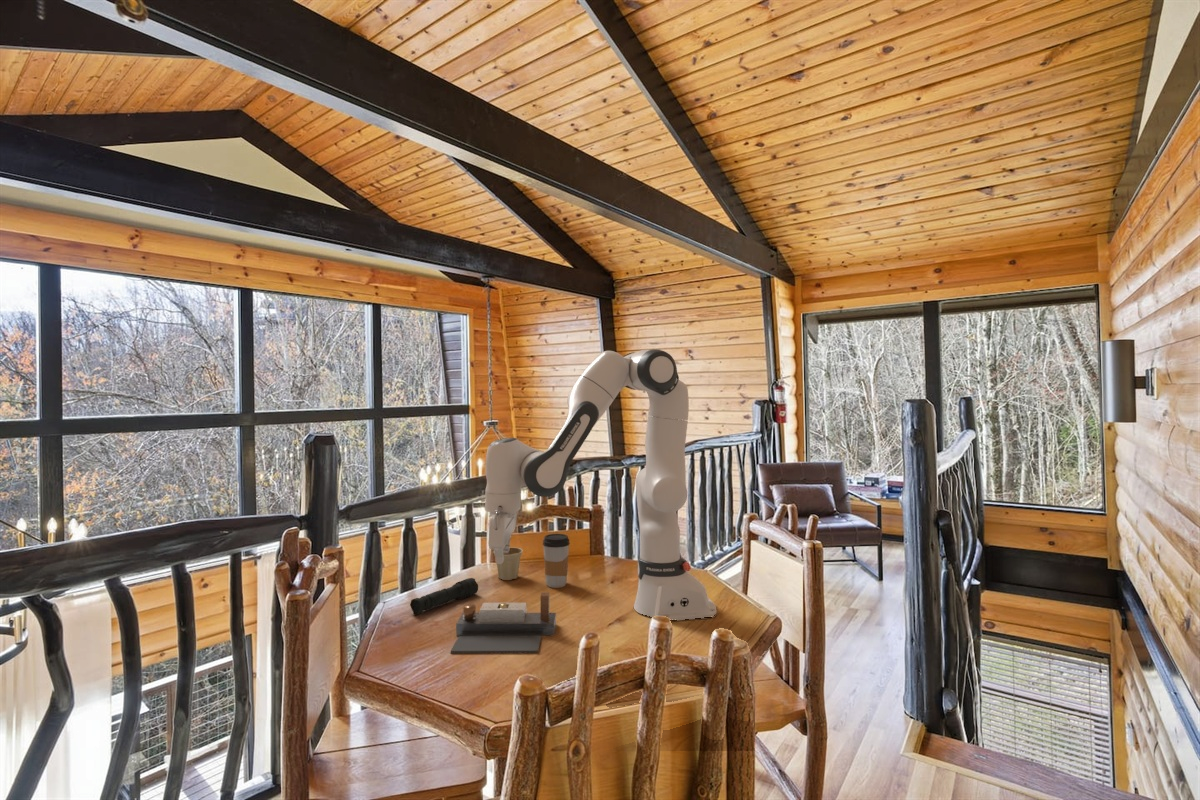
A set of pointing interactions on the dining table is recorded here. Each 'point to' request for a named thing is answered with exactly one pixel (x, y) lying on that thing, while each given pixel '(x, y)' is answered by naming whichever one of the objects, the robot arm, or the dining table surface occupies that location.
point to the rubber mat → (496, 644)
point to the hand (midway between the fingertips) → (502, 557)
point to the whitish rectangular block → (502, 612)
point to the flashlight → (444, 595)
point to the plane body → (508, 623)
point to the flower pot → (510, 564)
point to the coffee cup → (556, 559)
